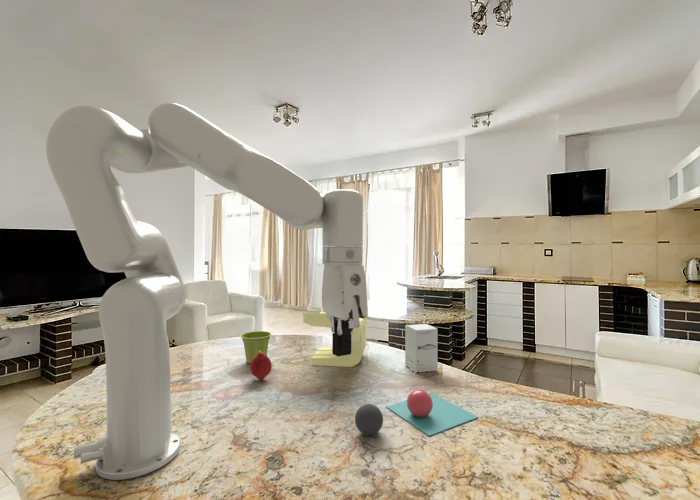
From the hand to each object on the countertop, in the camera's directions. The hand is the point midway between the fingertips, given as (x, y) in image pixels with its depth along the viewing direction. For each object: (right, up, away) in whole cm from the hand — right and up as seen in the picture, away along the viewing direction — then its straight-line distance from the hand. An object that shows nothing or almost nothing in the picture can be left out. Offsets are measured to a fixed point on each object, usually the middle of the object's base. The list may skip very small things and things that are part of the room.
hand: (341, 354), depth 64 cm
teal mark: (+19, -16, +11) cm, 28 cm away
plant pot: (-29, -16, +46) cm, 56 cm away
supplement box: (+23, -16, +39) cm, 48 cm away
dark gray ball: (+5, -14, +3) cm, 15 cm away
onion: (-23, -17, +30) cm, 42 cm away
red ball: (+17, -14, +10) cm, 23 cm away
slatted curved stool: (-2, -16, +48) cm, 50 cm away
